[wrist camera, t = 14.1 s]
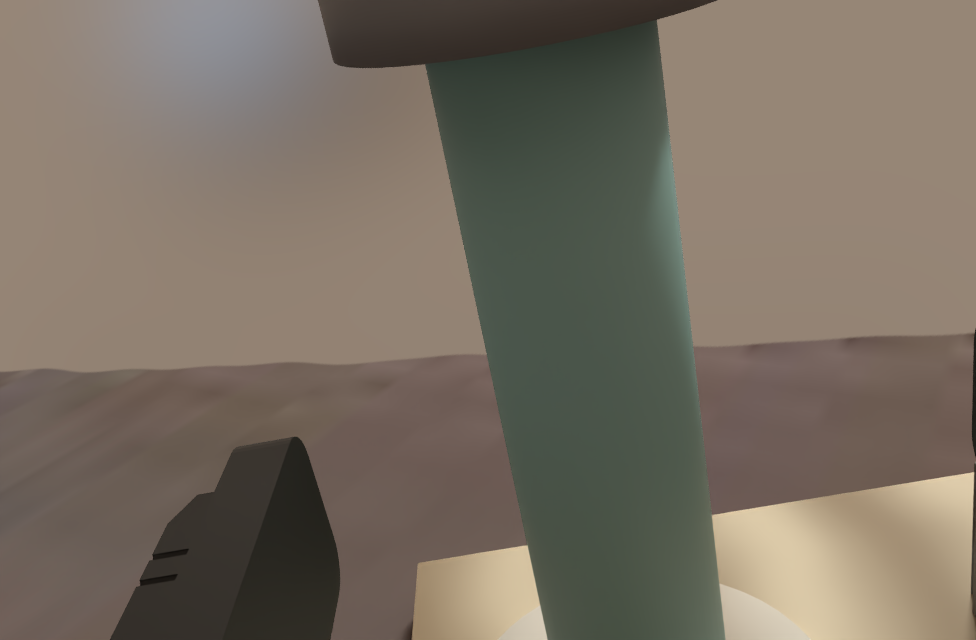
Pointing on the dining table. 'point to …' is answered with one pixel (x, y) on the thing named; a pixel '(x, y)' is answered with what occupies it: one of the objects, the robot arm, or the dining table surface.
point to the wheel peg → (573, 290)
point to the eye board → (771, 572)
